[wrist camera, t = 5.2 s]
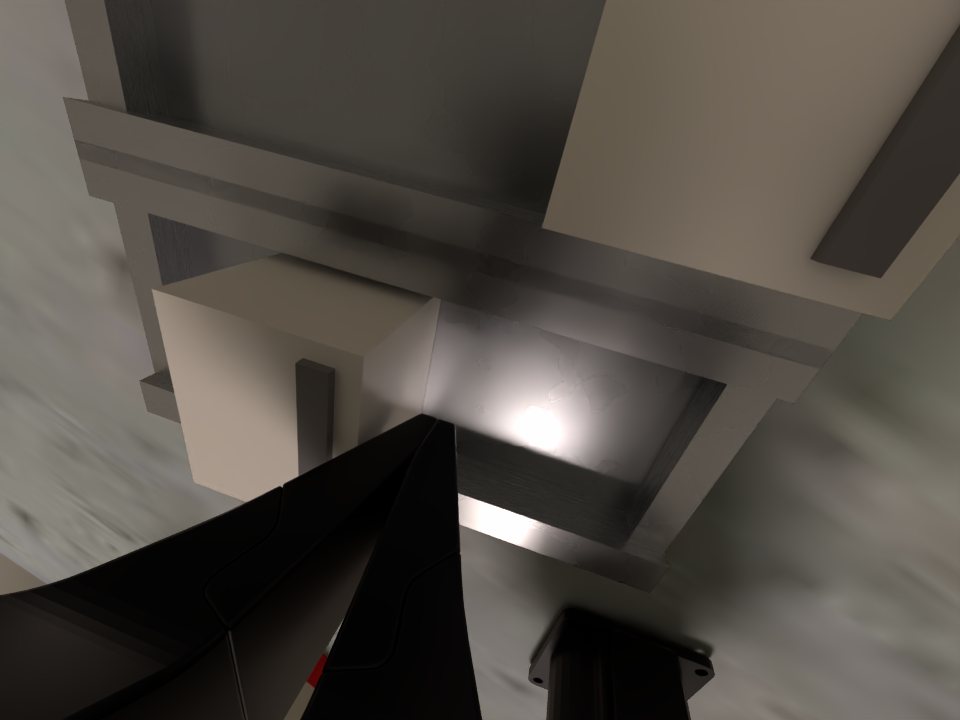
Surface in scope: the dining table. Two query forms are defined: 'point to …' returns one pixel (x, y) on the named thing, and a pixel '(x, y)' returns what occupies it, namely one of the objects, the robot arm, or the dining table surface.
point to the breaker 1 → (289, 366)
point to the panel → (443, 243)
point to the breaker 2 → (772, 142)
